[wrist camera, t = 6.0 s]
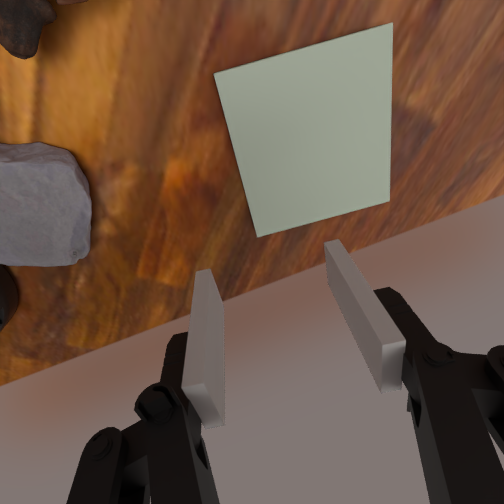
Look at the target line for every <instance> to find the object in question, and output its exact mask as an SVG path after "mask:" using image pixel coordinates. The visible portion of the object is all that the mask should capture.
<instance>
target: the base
mask: <svg viewBox="0 0 504 504" xmlns="http://www.w3.org/2000/svg"><path fill="white" fill-rule="evenodd" d="M392 44H393V23H388V24H384V25H380V26H376V27H373V28H369V29H366V30H362V31H359V32H355V33H352V34H348V35H345V36H341V37H338V38H334V39H331V40H327V41H324V42H320V43H317V44H313V45H310V46H306V47H303V48H299V49H296V50H292V51H289V52H285V53H282V54H278V55H275V56H272V57H268V58H265V59H261V60H258V61H254V62H251V63H247V64H244V65H240V66H237V67H233V68H230V69H226V70H223V71H219V72H216V73H213V74H214V78H215V82H216V85H217V89H218V93H219V97H220V100H221V104H222V108H223V112H224V115H225V119H226V123H227V126H228V130H229V134H230V138H231V141H232V145H233V149H234V153H235V156H236V160H237V164H238V168H239V171H240V175H241V179H242V183H243V186H244V190H245V194H246V198H247V201H248V205H249V209H250V212H251V216H252V220H253V224H254V227H255V231H256V234H257V237H261V236H265V235H268V234H272V233H275V232H279V231H283V230H286V229H290V228H294V227H297V226H301V225H305V224H308V223H312V222H315V221H319V220H323V219H326V218H330V217H334V216H337V215H341V214H345V213H348V212H352V211H356V210H359V209H363V208H366V207H370V206H374V205H377V204H381V203H385V202H388V201H390V153H391V99H392Z"/></svg>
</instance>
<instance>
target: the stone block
mask: <svg viewBox="0 0 504 504" xmlns="http://www.w3.org/2000/svg"><path fill="white" fill-rule="evenodd" d="M89 192H90V191H89V183H88V181H87V178H86V176H85V175H84V174H83V172H82V170H81V169H80V167H79V165H78V163H77V161H76V159H75V157H74V156H73V155H72V154H71V153H70V152H69V151H68V150H65V149H62V148H57V147H54V146H50V145H47V144H44V143H41V142H37V143H31V144H17V145H9V144H0V264H5V265H8V266H13V265H14V266H46V267H50V266H66V265H72V264H75V263H77V261H78V260H79V259H83V258H85V257H86V256H87V255H88V253H89V251H90V230H91V216H92V211H91V205H92V203H91V198H90V195H89Z"/></svg>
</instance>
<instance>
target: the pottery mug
mask: <svg viewBox="0 0 504 504" xmlns="http://www.w3.org/2000/svg"><path fill="white" fill-rule="evenodd" d="M85 1H88V0H56V2H57V4H60V5H66V4H74V3H80V2H85ZM56 18H57V15H56V12H55V11H54V9H53V7H52V5H51V4H50V3H49V2H48V1H47V0H0V44H1V45H2V46H3V47H4V48H5V49H6V50H7V51H8V52H9V53H10V54H11V55H13V56H15V57H18V58H21V59H28V58H30V57H33V56H34V55H35V54H36V52H37V48H38V43H39V38H40V35H41V31H42V28H43V26H44V25H46V24H49V23H53V21H55V20H56Z"/></svg>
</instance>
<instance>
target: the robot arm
mask: <svg viewBox="0 0 504 504" xmlns="http://www.w3.org/2000/svg"><path fill="white" fill-rule="evenodd" d="M324 248H325V258H326V268H327V278H328V285H329V287H330V289H331V291H332V293H333V295H334V297H335V299H336V301H337V303H338V305H339V307H340V309H341V312H342V314H343V316H344V318H345V320H346V322H347V324H348V326H349V328H350V330H351V332H352V335H353V337H354V339H355V340H356V343H357V345H358V347H359V349H360V351H361V353H362V355H363V357H364V359H365V361H366V363H367V365H368V368H369V370H370V372H371V374H372V376H373V378H374V380H375V382H376V384H377V386H378V388H379V391H380V392H381V393H386V392H391V391H396V390H400V389H401V388H402V381H403V383H404V385H405V386H406V388H407V390H408V392H409V393H408V402H407V411H408V412H410V410H411V415H412V420H413V424H414V429H415V434H416V439H417V443H418V448H419V453H420V458H421V462H422V467H423V472H424V476H425V481H426V486H427V491H428V496H429V500H430V504H504V470H503V468H502V465H501V463H500V460H499V458H498V455H497V453H496V450H495V448H494V445H493V443H492V440H491V438H490V435H489V433H490V434H491V436H492V437H493V439H494V440H495V442H496V444H497V445H498V447H499V448H500V450H501V451H502V452H503V454H504V345H499V346H496V347H493V348H491V349H490V351H489V352H488V354H487V355H482V354H467V353H459V352H456V351H453V350H452V349H451V348H450V347H448V346H447V345H444V344H442V343H439V342H437V340H435V338H434V337H433V336H432V334H431V333H430V332H429V331H428V329H427V328H426V327H425V325H424V324H423V323H422V322H421V320H420V319H419V318H418V316H417V315H416V314H415V313H414V312H413V311H412V309H411V307H410V306H409V305H408V304H407V302H406V301H405V300H404V298H403V297H402V296H401V294H400V293H398V292H396V291H395V290H393V289H391V288H390V287H386V288H382V289H377V290H372V288H371V287H370V285H369V284H368V282H367V281H366V279H365V278H364V277H363V275H362V274H361V272H360V270H359V269H358V267H357V266H356V264H355V263H354V261H353V260H352V258H351V257H350V255H349V254H348V252H347V251H346V249H345V248H344V246H343V245H342V243H341V242H340V240H339V239H337V240H333V241H329V242H324ZM17 305H18V293H17V289H16V286H15V284H14V282H13V280H12V278H11V276H10V275H9V274H8V272H7V271H6V270H5V268H4V267H3V266H2V265H1V264H0V331H1V330H2V329H3V328H4V327H5V325H6V324H7V323H8V322H9V320H10V319H11V318H12V316H13V315H14V313H15V311H16V309H17ZM224 370H225V369H224V305H223V303H222V300H221V297H220V294H219V291H218V289H217V286H216V283H215V280H214V278H213V275H212V272H211V269H205V270H201V271H197V272H196V275H195V283H194V291H193V299H192V307H191V315H190V323H189V331H188V332H184V333H180V334H175V335H173V336H172V338H171V340H170V341H169V343H168V344H167V349H166V353H165V358H164V366H163V369H162V374H161V379H160V382H158V383H155V384H152V385H150V386H149V387H147V388H146V389H145V390H144V391H143V392H142V393H141V394H140V395H139V397H138V399H137V401H136V402H135V408H134V411H135V412H136V413H137V414H138V416H139V417H140V418H141V420H140V421H138V422H137V423H135V424H133V425H131V426H129V427H128V428H126V429H124V430H122V431H120V430H119V429H117V428H115V427H107V428H105V429H102V430H100V431H99V432H98V433H96V434H95V435H94V436H93V437H92V438H91V439H90V440H89V442H88V443H87V444H86V446H85V448H84V450H83V452H82V455H81V458H80V461H79V464H78V468H77V471H76V475H75V477H74V481H73V484H72V487H71V490H70V494H69V497H68V500H67V503H66V504H150V496H151V504H220V503H219V499H218V495H217V491H216V487H215V483H214V479H213V475H212V471H211V467H210V463H209V459H208V455H207V451H206V447H205V443H204V440H203V438H202V436H201V422H202V424H203V426H204V428H205V429H210V428H215V427H219V426H224V425H225V377H224V376H225V372H224ZM488 431H489V432H488Z"/></svg>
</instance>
